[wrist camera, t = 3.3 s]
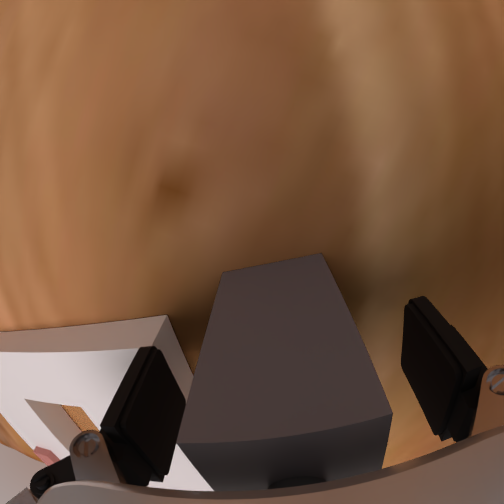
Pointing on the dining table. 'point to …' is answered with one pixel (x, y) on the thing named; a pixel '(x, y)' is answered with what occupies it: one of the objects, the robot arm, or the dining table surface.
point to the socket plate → (83, 383)
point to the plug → (283, 384)
